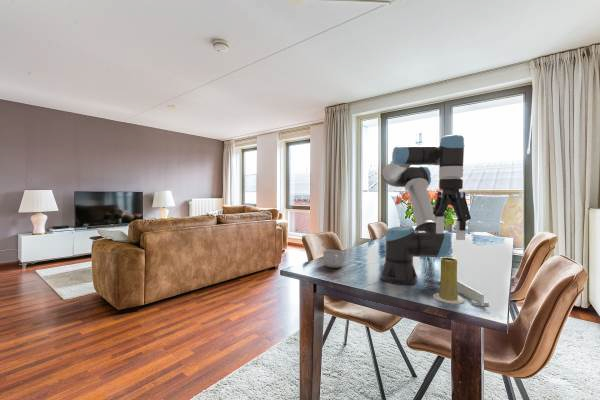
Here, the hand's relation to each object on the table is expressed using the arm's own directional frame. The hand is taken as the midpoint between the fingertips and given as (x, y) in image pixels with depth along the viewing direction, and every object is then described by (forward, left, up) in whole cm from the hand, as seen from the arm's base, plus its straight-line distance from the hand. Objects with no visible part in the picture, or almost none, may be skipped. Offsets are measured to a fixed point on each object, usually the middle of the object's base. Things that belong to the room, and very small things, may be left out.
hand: (449, 236), depth 102 cm
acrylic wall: (+8, +5, -23) cm, 25 cm away
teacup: (-36, +41, -23) cm, 59 cm away
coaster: (0, -1, -23) cm, 23 cm away
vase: (0, -1, -23) cm, 23 cm away
